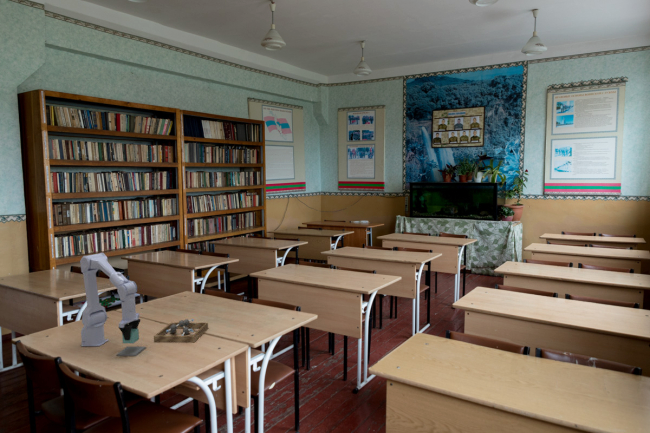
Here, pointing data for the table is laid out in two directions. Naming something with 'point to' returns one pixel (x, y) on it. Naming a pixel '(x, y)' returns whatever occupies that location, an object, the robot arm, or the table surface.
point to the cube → (132, 336)
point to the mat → (131, 351)
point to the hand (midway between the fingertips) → (130, 337)
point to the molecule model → (181, 324)
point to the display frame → (161, 338)
